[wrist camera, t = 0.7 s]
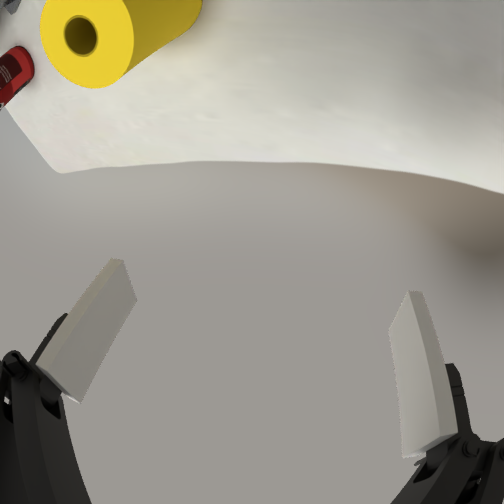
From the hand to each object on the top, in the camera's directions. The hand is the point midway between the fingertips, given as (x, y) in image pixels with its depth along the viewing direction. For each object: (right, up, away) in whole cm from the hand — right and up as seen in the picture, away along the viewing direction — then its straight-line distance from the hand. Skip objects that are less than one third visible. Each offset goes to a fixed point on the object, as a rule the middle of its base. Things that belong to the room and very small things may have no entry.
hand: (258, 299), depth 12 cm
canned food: (-36, +31, +10) cm, 48 cm away
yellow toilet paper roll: (-9, +25, +3) cm, 27 cm away
